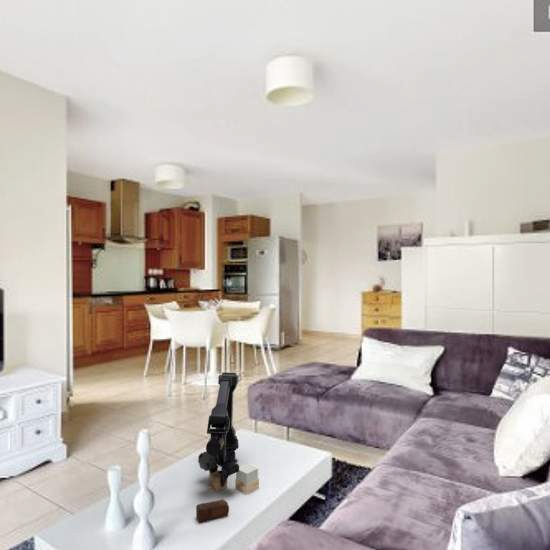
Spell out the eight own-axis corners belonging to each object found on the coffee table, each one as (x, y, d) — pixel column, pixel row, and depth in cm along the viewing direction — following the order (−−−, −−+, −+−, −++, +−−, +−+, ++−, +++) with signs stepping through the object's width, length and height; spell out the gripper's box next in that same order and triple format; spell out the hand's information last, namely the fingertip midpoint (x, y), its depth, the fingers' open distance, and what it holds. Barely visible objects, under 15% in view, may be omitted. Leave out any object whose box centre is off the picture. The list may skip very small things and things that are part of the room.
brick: (198, 524, 139) (199, 510, 139) (195, 517, 143) (196, 504, 143) (228, 516, 144) (229, 503, 144) (225, 510, 147) (225, 497, 147)
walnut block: (209, 486, 163) (209, 474, 163) (218, 482, 167) (219, 469, 167) (217, 491, 160) (217, 478, 160) (227, 486, 164) (227, 474, 164)
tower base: (235, 489, 162) (235, 478, 162) (247, 483, 167) (247, 473, 167) (246, 495, 158) (246, 484, 158) (258, 488, 163) (258, 478, 163)
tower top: (236, 478, 162) (236, 468, 162) (246, 473, 167) (247, 463, 167) (246, 484, 158) (247, 473, 158) (257, 478, 163) (257, 468, 163)
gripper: (187, 443, 164) (187, 483, 164) (217, 458, 151) (217, 501, 151) (209, 436, 172) (209, 473, 172) (240, 449, 159) (239, 489, 159)
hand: (218, 484), depth 163 cm, fingers closed on walnut block, 5 cm apart
